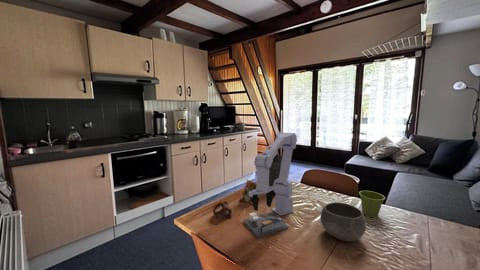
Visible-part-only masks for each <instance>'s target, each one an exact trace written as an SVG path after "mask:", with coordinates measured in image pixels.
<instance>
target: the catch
mask: <svg viewBox="0 0 480 270" xmlns="http://www.w3.org/2000/svg"><path fill="white" fill-rule="evenodd" d="M248 214H249V216H248V218H249V220H250V221H251V222H254V221H258V220H260V218H259V217H258V216H257V214H258V213H256V211H255V212H251V213H248Z"/></svg>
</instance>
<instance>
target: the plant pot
mask: <svg viewBox="0 0 480 270" xmlns="http://www.w3.org/2000/svg"><path fill="white" fill-rule="evenodd" d="M358 194H359V196H360V202H361V203H360V204H361V211H362V213H363V215H364V217H368V218H378V216H379V213H380V211H381V208H382V204H383V203H384V201H385V199H386V197H385V196H384V195H383V194H381V193H378V192H375V191H372V190H360V191H359V192H358Z"/></svg>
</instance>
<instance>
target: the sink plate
mask: <svg viewBox="0 0 480 270" xmlns="http://www.w3.org/2000/svg"><path fill="white" fill-rule="evenodd" d="M262 215H268V216H275V217H280V215H279V214H274V213H273V212H268V213H264V214H262ZM242 221H243V224H244V225H245V226H246V227H247V228H248V229H249V231H251V232H252V234H253V235H254V236H255V237H256V238H257V239H258V238H259V239H260V238H262V237H266V236H269V235H271V234H275V233H279V232H281V231H284V230H288V229H289V225H288V223H286V222H285V219H284V218H281V220H280V221H274V220H267V219H260V220H258V221H254V222H251V221H250V220H249V217H248V218H244V219H243V220H242Z"/></svg>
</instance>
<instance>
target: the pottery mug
mask: <svg viewBox="0 0 480 270" xmlns="http://www.w3.org/2000/svg"><path fill="white" fill-rule="evenodd" d="M220 207H221V209H220V210H217V209H218V208H220ZM216 210H217V211H216ZM212 213H213V217H215V218H218V217H223V214H226V213H228V214H229V216H230V219H232V218H233V215H234V214H233V210H232V209H231V207H230V206H229V203H228V201H227V200H225V201H222V202H219V203H217V204H216V205H214V207H213V210H212Z"/></svg>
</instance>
